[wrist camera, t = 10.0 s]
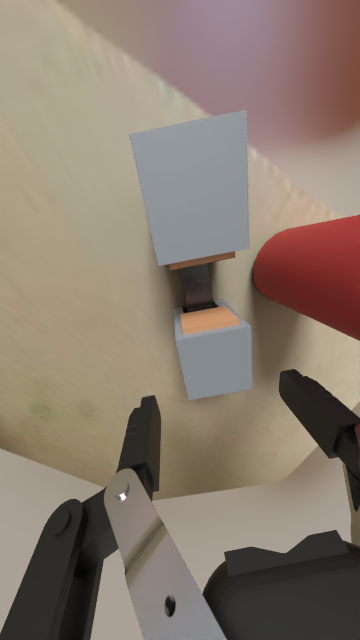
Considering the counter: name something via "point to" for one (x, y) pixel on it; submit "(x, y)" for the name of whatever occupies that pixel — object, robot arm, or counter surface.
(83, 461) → the counter surface
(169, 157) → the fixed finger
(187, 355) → the grey block
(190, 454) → the counter surface
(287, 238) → the beer can
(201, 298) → the rail
